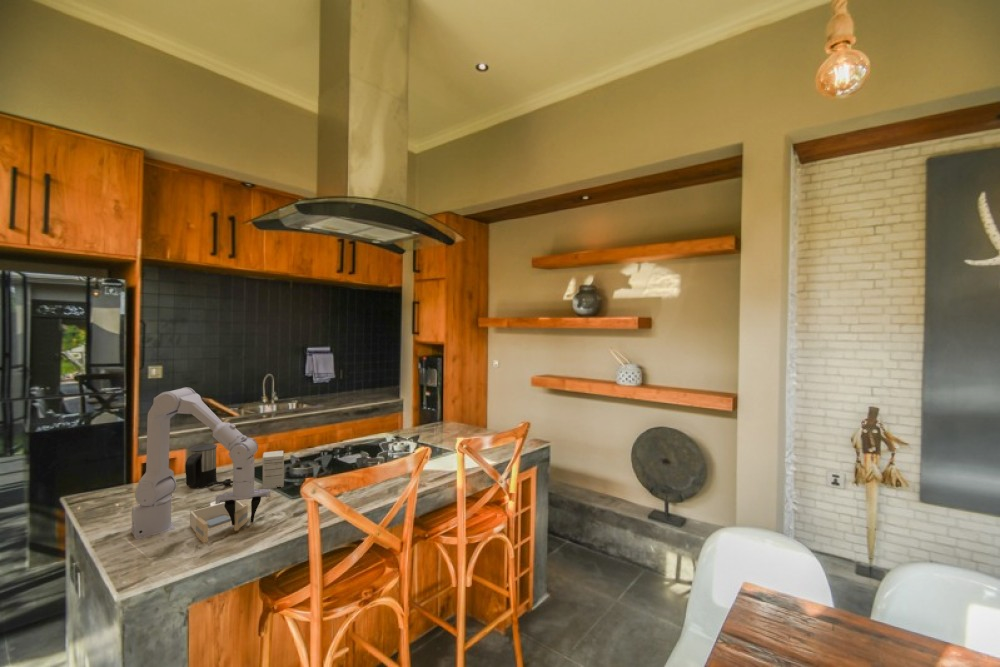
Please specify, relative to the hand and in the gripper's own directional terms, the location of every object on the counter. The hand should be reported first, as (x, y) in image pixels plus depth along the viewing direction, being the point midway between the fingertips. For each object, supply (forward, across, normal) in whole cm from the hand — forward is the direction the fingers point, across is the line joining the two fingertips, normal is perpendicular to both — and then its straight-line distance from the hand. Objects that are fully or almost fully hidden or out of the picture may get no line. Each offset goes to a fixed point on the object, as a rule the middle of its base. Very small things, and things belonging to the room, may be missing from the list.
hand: (243, 522), depth 136 cm
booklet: (+2, +8, -7) cm, 11 cm away
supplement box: (+2, -7, -37) cm, 37 cm away
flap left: (+2, +10, +3) cm, 11 cm away
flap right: (+2, +1, -2) cm, 3 cm away
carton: (+2, +8, -7) cm, 10 cm away
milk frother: (+3, +15, -46) cm, 48 cm away
